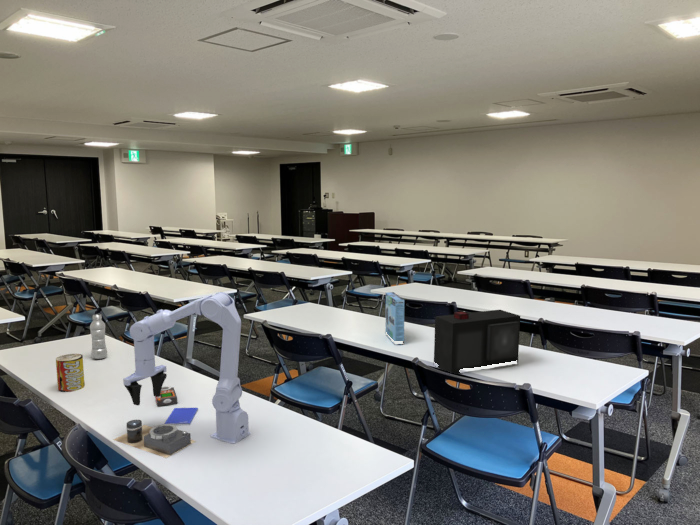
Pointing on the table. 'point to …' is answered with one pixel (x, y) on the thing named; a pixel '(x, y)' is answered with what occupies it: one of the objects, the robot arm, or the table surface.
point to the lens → (134, 431)
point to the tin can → (70, 372)
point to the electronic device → (166, 396)
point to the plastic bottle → (98, 337)
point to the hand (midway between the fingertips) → (146, 400)
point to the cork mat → (141, 444)
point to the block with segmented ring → (166, 439)
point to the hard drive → (181, 416)
